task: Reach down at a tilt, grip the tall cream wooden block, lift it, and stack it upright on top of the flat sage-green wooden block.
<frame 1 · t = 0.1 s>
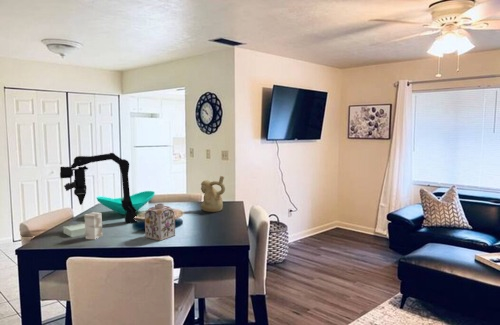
hand: (81, 203, 219), 15 cm above the table, tool pointing down, fingers open, 9 cm apart
cream block: (94, 237, 199), on the table
sage block: (78, 233, 209), on the table
table top decor: (127, 213, 256), on the table
decorative jar: (160, 237, 199), on the table
ceramic vessel: (212, 210, 263), on the table
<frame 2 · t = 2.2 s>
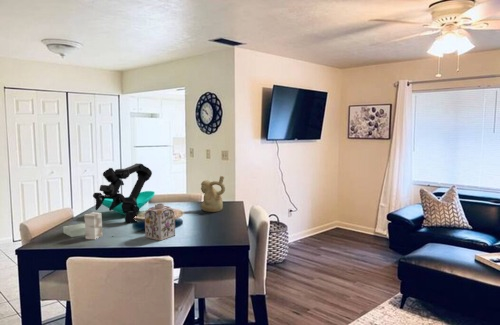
hand: (102, 210, 206), 13 cm above the table, tool tilted 45°, fingers open, 9 cm apart
nothing on the table moved.
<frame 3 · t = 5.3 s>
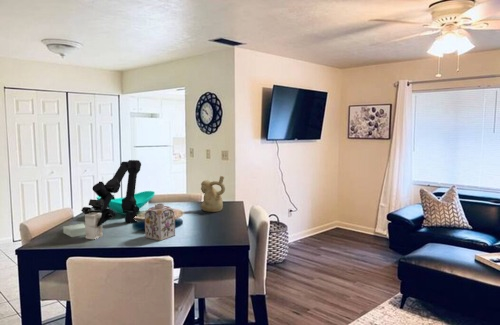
hand: (91, 225, 197), 7 cm above the table, tool tilted 45°, fingers open, 8 cm apart
cream block: (94, 237, 199), on the table, touching gripper
everything else where it was.
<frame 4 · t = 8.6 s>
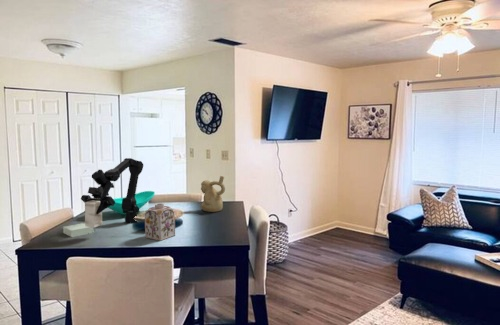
hand: (90, 213, 196), 14 cm above the table, tool tilted 45°, fingers closed on cream block, 7 cm apart
cream block: (93, 225, 199), point 7 cm above the table, touching gripper
everything else where it was.
when the fingers open (12 cm above the table, at t = 11.4 s): cream block drops 1 cm, point 4 cm above the table.
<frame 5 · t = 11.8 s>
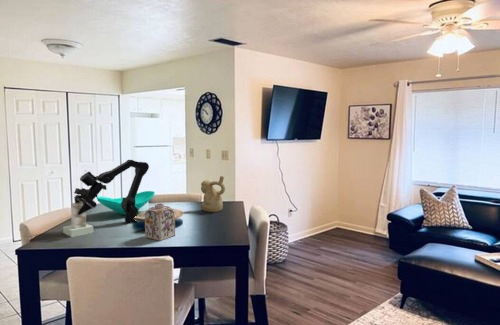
hand: (75, 213, 207), 12 cm above the table, tool tilted 45°, fingers open, 9 cm apart
cream block: (78, 226, 208), point 4 cm above the table
everything else where it was.
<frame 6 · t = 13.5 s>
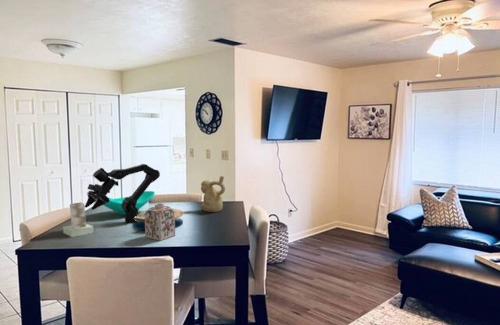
hand: (88, 208, 212), 13 cm above the table, tool tilted 45°, fingers open, 9 cm apart
cream block: (78, 226, 208), point 4 cm above the table, touching sage block
sage block: (78, 233, 209), on the table, touching cream block
everything else where it was.
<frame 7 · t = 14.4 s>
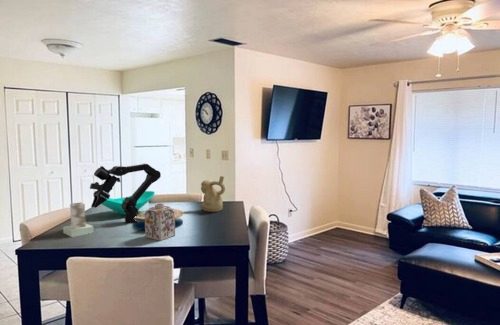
hand: (93, 207, 214), 13 cm above the table, tool tilted 40°, fingers open, 9 cm apart
cream block: (78, 226, 209), point 4 cm above the table
sage block: (78, 233, 209), on the table
everything else where it was.
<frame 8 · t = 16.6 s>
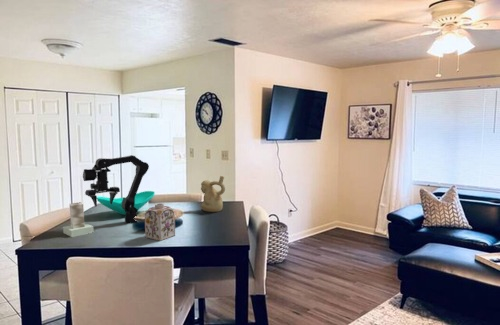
hand: (103, 205, 220), 13 cm above the table, tool pointing down, fingers open, 9 cm apart
nothing on the table moved.
at the end: cream block inside the target area on the sage block (0.5 cm from its centre), point 4.0 cm above the sage block's base; cream block tilted 1°; the gripper is holding nothing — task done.
